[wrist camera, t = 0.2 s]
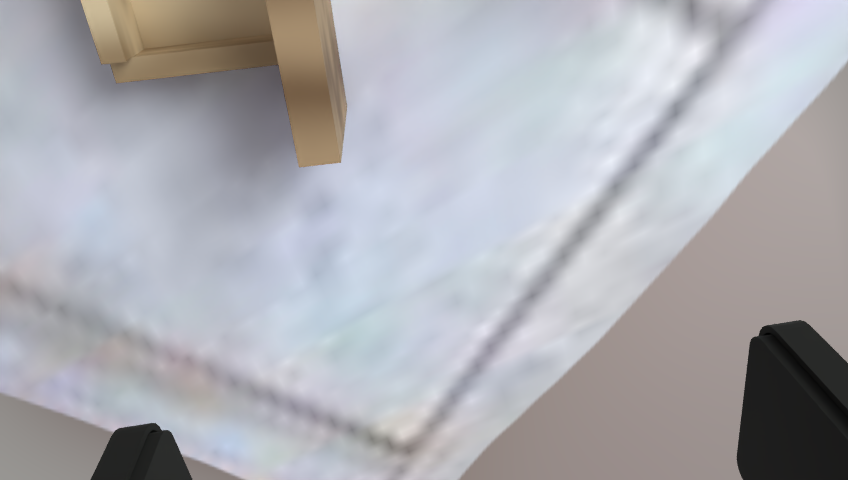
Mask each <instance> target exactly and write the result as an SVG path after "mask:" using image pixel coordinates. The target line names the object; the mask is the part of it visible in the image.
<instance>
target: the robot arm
mask: <svg viewBox="0 0 848 480" xmlns="http://www.w3.org/2000/svg"><path fill="white" fill-rule="evenodd" d="M737 464H738V468H739V471H740V474H741V476H742V478H743V480H848V363H847V362H846V361H845V360H844V359H843V358H842V357H841V356H840V355H839V354H838V353H837V352H836V351H835V350H834V349H833V348H832V347H831V346H830V345H829V344H828V343H827V342H826V341H825V340H824V339H823V338H822V337H821V336H820V335H819V334H818V333H817V332H816V331H815V330H814V329H813V328H812V327H811V326H810V325H809V324H807V323H806V322H804V321H801V320H799V321H792V322H786V323H780V324H773V325H767V326H764V327H762V329H761V330H760V333H759V336H757V337H753V338H752V339H751V342H750V347H749V356H748V364H747V374H746V381H745V390H744V399H743V407H742V416H741V425H740V433H739V442H738V450H737ZM91 480H192V478H191V475H190V473H189V471H188V469H187V466H186V464H185V462H184V460H183V457H182V455H181V453H180V451H179V448H178V446H177V444H176V442H175V439H174V437H173V435H172V433H171V432H170V431H169V430H164V431H162V430H161V429H160V427H159V426H158V425H157V424H156V423H149V424H143V425H137V426H130V427H124V428H119V429H117V430H116V431H115V432H114V433H113V435H112V436H111V438H110V440H109V442H108V444H107V447H106V449H105V451H104V453H103V455H102V457H101V459H100V461H99V463H98V466H97V468H96V470H95V472H94V474H93V476H92V478H91Z"/></svg>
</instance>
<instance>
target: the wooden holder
mask: <svg viewBox="0 0 848 480" xmlns="http://www.w3.org/2000/svg"><path fill="white" fill-rule="evenodd" d="M81 3H82V6H83V9H84V12H85V16H86V19H87V22H88V25H89V28H90V31H91V34H92V37H93V40H94V43H95V46H96V49H97V52H98V55H99V58H100V61H101V64H110V65H111V68H112V71H113V75H114V78H115V81H116V83H123V82H132V81H141V80H149V79H158V78H167V77H176V76H184V75H193V74H202V73H211V72H219V71H228V70H237V69H246V68H254V67H263V66H272V65H279V70H280V75H281V80H282V85H283V90H284V95H285V100H286V105H287V110H288V115H289V120H290V125H291V130H292V135H293V140H294V144H295V149H296V154H297V159H298V164H299V167H307V166H315V165H324V164H332V163H341V157H342V148H343V139H344V130H345V121H346V112H347V103H346V97H345V91H344V84H343V78H342V72H341V65H340V59H339V52H338V46H337V40H336V33H335V27H334V21H333V14H332V8H331V1H330V0H81Z"/></svg>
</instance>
